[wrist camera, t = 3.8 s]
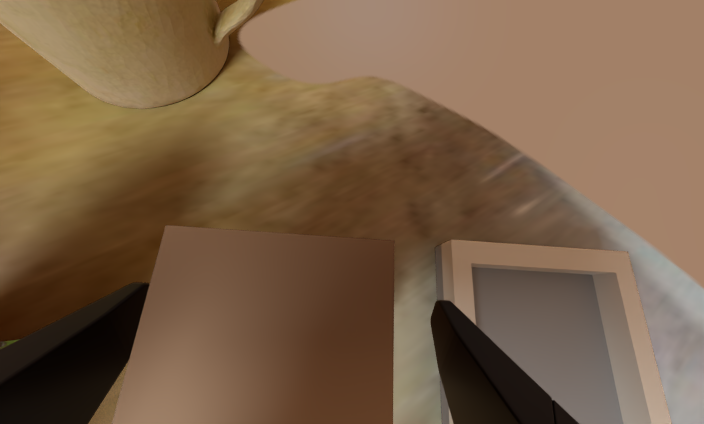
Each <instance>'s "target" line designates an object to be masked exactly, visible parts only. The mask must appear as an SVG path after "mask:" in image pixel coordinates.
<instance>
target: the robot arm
mask: <svg viewBox="0 0 704 424" xmlns="http://www.w3.org/2000/svg"><path fill="white" fill-rule="evenodd" d="M149 285H150V284H149V283H142V282H134V283H131V284H129V285H127V286H125V287H123V288H121V289H119V290H117V291H115V292H113V293H111V294H109V295H107V296H105V297H103V298H101V299H99V300H97V301H95V302H93V303H91V304H89V305H87V306H85V307H83V308H81V309H79V310H77V311H75V312H73V313H71V314H69V315H67V316H65V317H63V318H61V319H60V320H58V321H56V322H54V323H52V324H50V325H48V326H46V327H44V328H42V329H40V330H38V331H36V332H34V333H32V334H30V335H28V336H26V337H24V338H22V339H20V340H18V341H16V342H14V343H12V344H10V345H8V346H6V347H4V348H2V349H0V424H88V423H89V421H90V420H91V418H92V417H93V415H94V413H95V412H96V410H97V409H98V407H99V406H100V404H101V403H102V401H103V400H104V398H105V396H106V395H107V393H108V392H109V390H110V389H111V387H112V386H113V384H114V382H115V381H116V379H117V378H118V376H119V375H120V373H121V372H122V370H123V368H124V367H125V365H126V364H127V362H128V360H129V359H130V355H131V351H132V348H133V344H134V340H135V337H136V333H137V329H138V326H139V322H140V318H141V315H142V311H143V307H144V303H145V300H146V296H147V292H148V289H149ZM431 328H432V334H433V340H434V346H435V352H436V357H437V363H438V368H439V373H440V377H441V381H442V385H443V388H444V392H445V395H446V399H447V402H448V406H449V410H450V413H451V417H452V420H453V424H579V423H578V422H577V421H576V420H575V419H574V418H573V417H572V416H571V415H570V414H569V413H568V412H567V411H565V410H564V409H563V408H562V407H561V406H560V405H559V404H558V403H557V402H556V401H555V400H552V398H551V396H550V395H549V394H548V393H546V392H545V391H544V390H543V389H542V388H541V387H540V386H539V385H538V384H537V383H536V382H535V381H534V380H533V379H532V378H531V377H530V376H529V375H528V374H527V373H526V372H525V371H523V370H522V369H521V368H520V367H519V366H518V365H517V364H516V363H515V362H514V361H513V360H512V359H511V358H510V357H509V356H508V355H507V354H506V353H505V352H504V351H503V350H501V349H500V348H499V347H498V346H497V345H496V344H495V343H494V342H493V341H492V340H491V339H490V338H489V337H488V336H487V335H486V334H485V333H484V332H483V331H482V330H481V329H480V328H478V327H477V326H476V325H475V324H474V323H473V322H472V321H471V320H470V319H469V318H468V317H467V316H466V315H465V314H464V313H463V312H462V311H461V310H460V309H459V308H458V307H456V306H455V305H454V304H453V303H452V302H451V301H449V300H437V301H436V303H435V306H434V309H433V312H432V316H431Z"/></svg>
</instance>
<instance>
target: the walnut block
mask: <svg viewBox="0 0 704 424" xmlns="http://www.w3.org/2000/svg"><path fill="white" fill-rule="evenodd" d="M393 340H394V241H391V240H376V239H362V238H347V237H332V236H318V235H303V234H288V233H274V232H259V231H244V230H229V229H215V228H200V227H185V226H171V225H166V226H165V230H164V233H163V237H162V241H161V245H160V248H159V252H158V256H157V259H156V263H155V267H154V270H153V274H152V278H151V281H150V285H149V289H148V292H147V296H146V300H145V303H144V307H143V311H142V315H141V318H140V322H139V326H138V329H137V333H136V337H135V340H134V344H133V348H132V351H131V355H130V359H129V362H128V366H127V370H126V373H125V377H124V381H123V384H122V388H121V392H120V396H119V399H118V403H117V407H116V410H115V414H114V418H113V421H112V424H393Z"/></svg>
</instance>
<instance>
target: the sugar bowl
mask: <svg viewBox="0 0 704 424" xmlns="http://www.w3.org/2000/svg"><path fill="white" fill-rule="evenodd" d="M262 2H263V0H238V1H236V2H235V3H233V4H231V5H230V6H228V7H226V8H225V9H224V10H223V11H222V12H220V9H219V6H218V4H217V1H216V0H0V23H1V24H2V25H3V26H4V27H6V28H7V29H8V30H9V31H11V32H12V33H13V34H14V35H16V36H17V37H18V38H20V39H21V40H22V41H23V42H25V43H26V44H27V45H28V46H30V47H31V48H32V49H33V50H35V51H36V52H37V53H39V54H40V55H41V56H42V57H44V58H45V59H46V60H47V61H49V62H50V63H51V64H53V65H54V66H55V67H56V68H58V69H59V70H60V71H62V72H63V73H64V74H65V75H67V76H68V77H69V78H70V79H72V80H73V81H74V82H75V83H77V84H78V85H79V86H80V87H82V88H83V89H84V90H86V91H87V92H89V93H90V94H91V95H93V96H94V97H96V98H98V99H100V100H102V101H104V102H107V103H110V104H113V105H117V106H121V107H125V108H140V109H144V108H154V107H160V106H165V105H169V104H173V103H176V102H179V101H181V100H184V99H186V98H188V97H190V96H192V95H194V94H195V93H197V92H199V91H200V90H202V89H203V88H204V87H205V86H206V85H208V84H209V83H210V82H211V81H212V80H213V79H214V78H215V77H216V76H217V74H218V73H219V72H220V70H221V69H222V67H223V65H224V63H225V61H226V59H227V55H228V50H229V35H230V34H231V33H232V32H233V31H235V30H236V29H237V28H239V27H240V26H242V25H243V24H244V23H245V22H246V21H248V20H249V19H250V18H251V17H252V16H253V15H254V13H255V12H256V11H257V10H258V8H259V7H260V5H261V4H262Z"/></svg>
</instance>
